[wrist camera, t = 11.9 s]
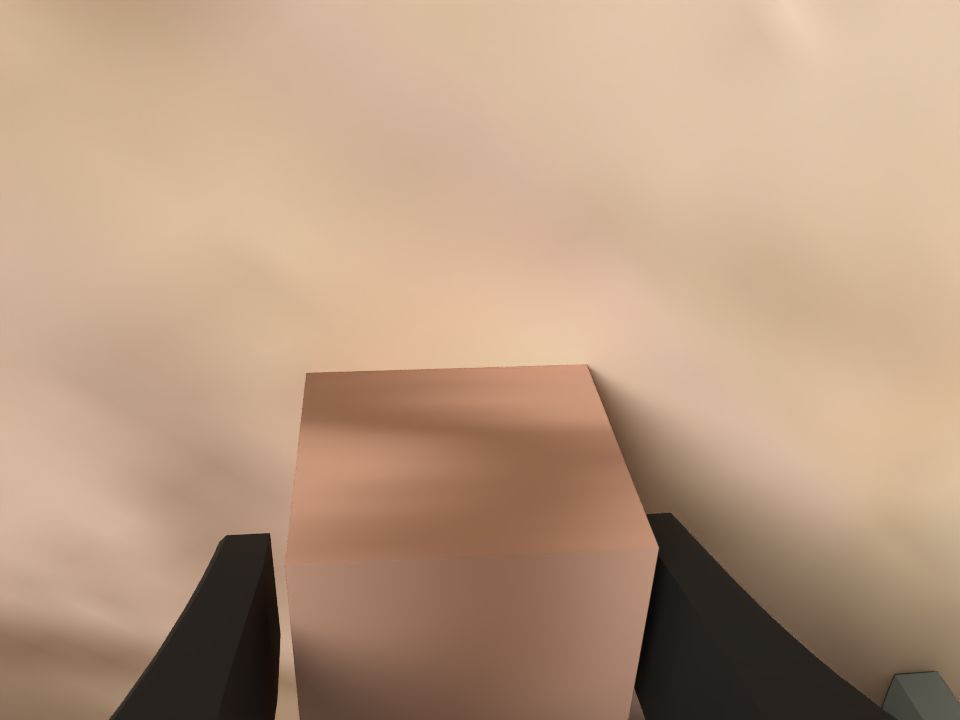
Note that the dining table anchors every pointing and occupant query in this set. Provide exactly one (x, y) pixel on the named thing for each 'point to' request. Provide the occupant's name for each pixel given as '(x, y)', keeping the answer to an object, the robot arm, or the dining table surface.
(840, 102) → the dining table surface
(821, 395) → the dining table surface
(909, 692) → the open-side crate
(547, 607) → the terracotta block
